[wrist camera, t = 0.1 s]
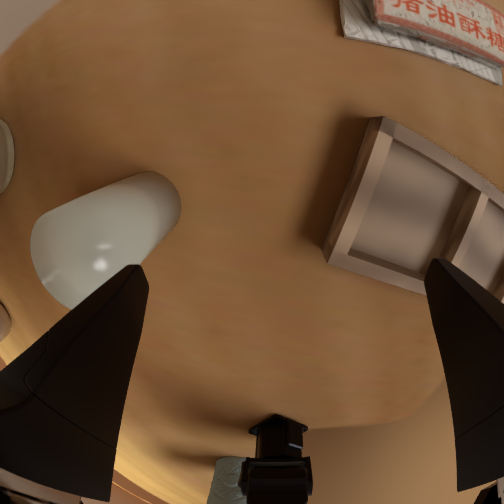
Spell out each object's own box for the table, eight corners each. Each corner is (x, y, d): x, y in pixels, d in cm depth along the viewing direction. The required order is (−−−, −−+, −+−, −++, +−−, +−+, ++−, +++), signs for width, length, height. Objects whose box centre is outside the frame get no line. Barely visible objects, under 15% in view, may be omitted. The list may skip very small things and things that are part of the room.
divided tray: (484, 305, 25) (495, 318, 23) (321, 248, 24) (327, 263, 21) (525, 220, 21) (540, 228, 18) (370, 117, 19) (383, 116, 17)
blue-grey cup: (232, 450, 40) (224, 508, 29) (276, 464, 42) (274, 517, 31) (203, 462, 44) (194, 512, 33) (245, 476, 45) (240, 522, 34)
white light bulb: (159, 249, 25) (93, 330, 14) (110, 212, 24) (24, 270, 13) (194, 197, 23) (128, 258, 12) (139, 158, 22) (43, 188, 11)
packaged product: (507, 2, 8) (526, 86, 12) (483, 11, 12) (496, 87, 16) (340, -67, 9) (356, 21, 13) (330, -41, 13) (340, 40, 17)
